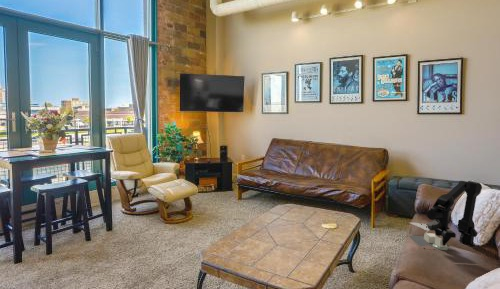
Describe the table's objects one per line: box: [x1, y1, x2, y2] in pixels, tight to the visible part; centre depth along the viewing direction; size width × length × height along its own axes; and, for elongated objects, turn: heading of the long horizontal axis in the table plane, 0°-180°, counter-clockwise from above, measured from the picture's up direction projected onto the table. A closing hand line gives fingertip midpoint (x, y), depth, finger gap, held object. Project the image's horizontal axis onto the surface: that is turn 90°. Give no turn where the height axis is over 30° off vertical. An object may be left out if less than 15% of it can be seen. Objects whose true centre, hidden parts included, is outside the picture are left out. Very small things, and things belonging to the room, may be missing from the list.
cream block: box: [435, 235, 448, 247], centre depth 194 cm, size 4×6×5 cm, turn 178°
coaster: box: [432, 243, 450, 251], centre depth 195 cm, size 8×8×1 cm
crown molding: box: [409, 222, 435, 234], centre depth 225 cm, size 24×1×20 cm
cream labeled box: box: [423, 232, 435, 243], centre depth 203 cm, size 9×6×4 cm, turn 88°
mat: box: [408, 235, 453, 252], centre depth 201 cm, size 17×21×1 cm
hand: (440, 243), depth 195 cm, fingers open, 6 cm apart
